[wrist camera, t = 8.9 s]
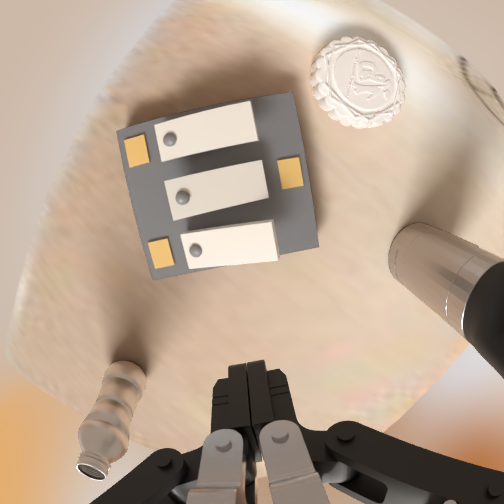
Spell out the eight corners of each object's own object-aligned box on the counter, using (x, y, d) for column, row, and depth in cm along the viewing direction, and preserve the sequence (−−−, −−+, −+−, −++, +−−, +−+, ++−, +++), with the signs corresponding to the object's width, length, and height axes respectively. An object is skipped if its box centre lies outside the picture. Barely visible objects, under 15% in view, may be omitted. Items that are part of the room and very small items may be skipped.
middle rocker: (258, 160, 32) (262, 159, 31) (265, 196, 33) (269, 197, 32) (164, 181, 30) (164, 181, 29) (172, 219, 31) (173, 221, 30)
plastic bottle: (102, 357, 43) (53, 452, 23) (140, 352, 43) (100, 457, 23) (119, 388, 44) (82, 484, 25) (155, 385, 44) (128, 488, 25)
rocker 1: (251, 102, 29) (249, 100, 27) (258, 140, 30) (257, 140, 28) (158, 125, 30) (153, 124, 29) (165, 161, 31) (160, 161, 30)
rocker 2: (273, 219, 32) (271, 222, 30) (280, 256, 33) (277, 261, 31) (184, 231, 34) (179, 235, 33) (193, 265, 36) (188, 269, 34)
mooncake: (384, 142, 36) (397, 142, 33) (298, 109, 35) (304, 104, 31) (402, 65, 33) (415, 59, 30) (321, 29, 32) (329, 19, 28)
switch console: (288, 97, 34) (295, 89, 30) (312, 240, 39) (322, 250, 35) (124, 132, 34) (111, 129, 29) (158, 271, 39) (149, 284, 35)
